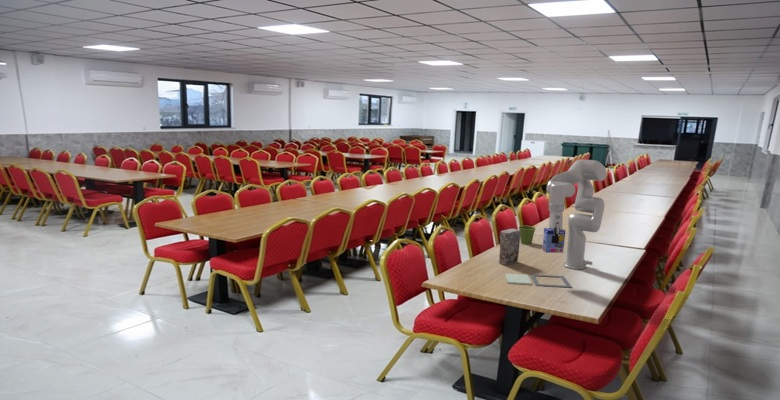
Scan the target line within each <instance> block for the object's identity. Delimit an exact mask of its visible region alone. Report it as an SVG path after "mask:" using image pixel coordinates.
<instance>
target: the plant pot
mask: <svg viewBox="0 0 780 400" xmlns="http://www.w3.org/2000/svg"><path fill="white" fill-rule="evenodd" d="M536 229H537V227H535V226H531V225H519V226H518V230H520V231H521V235H520V244H523V245H532V243H533V240H534V236H535V235H534V234H535V232H536Z"/></svg>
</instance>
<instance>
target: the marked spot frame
mask: <svg viewBox="0 0 780 400" xmlns="http://www.w3.org/2000/svg"><path fill="white" fill-rule="evenodd" d="M529 275H530V278H531V279H532V281H533V282H534V285H535V287H550V288H551V287H552V288H568V289H572V288H573V287H572V285H571V283H570V282H569V281H568V280H567V278H566V277H565V276H564V275H554V274H552V275H551V274H539V273H538V274H537V273H536V274H534V273H533V274H532V273H530V274H529ZM537 277H541V278H542V277H545V278H558V277H561V281H562V282H563V283H564V285H562V284H561V285H560V284H548V283H547V284H546V283H539V281H538V279H537Z"/></svg>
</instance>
